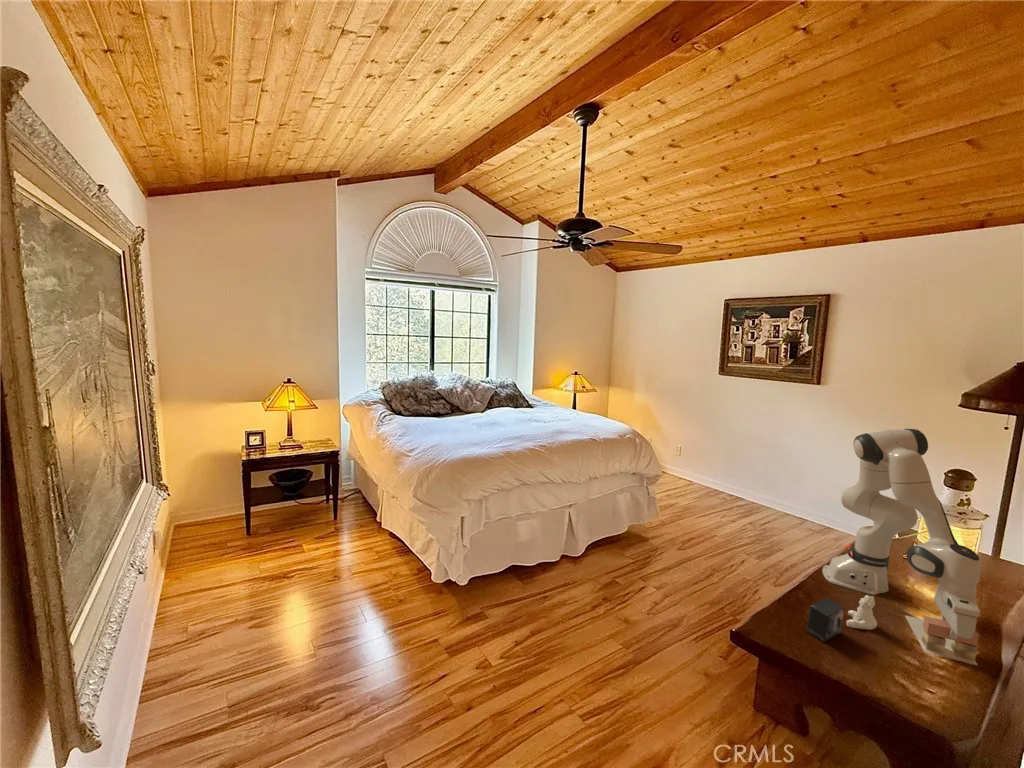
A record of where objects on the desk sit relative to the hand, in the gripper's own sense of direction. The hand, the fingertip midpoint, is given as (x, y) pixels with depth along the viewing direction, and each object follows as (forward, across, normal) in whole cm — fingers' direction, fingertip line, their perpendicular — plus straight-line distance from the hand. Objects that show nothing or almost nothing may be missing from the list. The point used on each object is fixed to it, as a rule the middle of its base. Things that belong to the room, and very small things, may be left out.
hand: (949, 632), depth 153 cm
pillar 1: (+7, 0, -3) cm, 8 cm away
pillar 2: (+7, 0, +4) cm, 8 cm away
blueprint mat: (+7, -6, 0) cm, 10 cm away
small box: (+8, +7, -35) cm, 37 cm away
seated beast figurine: (+8, -4, -22) cm, 24 cm away
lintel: (+1, 0, 0) cm, 1 cm away
